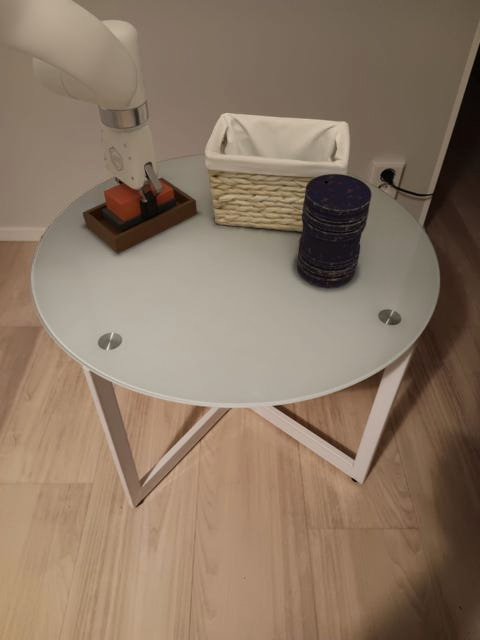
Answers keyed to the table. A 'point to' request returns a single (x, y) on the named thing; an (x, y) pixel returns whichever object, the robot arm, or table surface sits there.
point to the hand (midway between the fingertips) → (139, 208)
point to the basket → (270, 166)
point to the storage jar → (332, 229)
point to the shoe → (132, 204)
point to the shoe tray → (142, 230)
